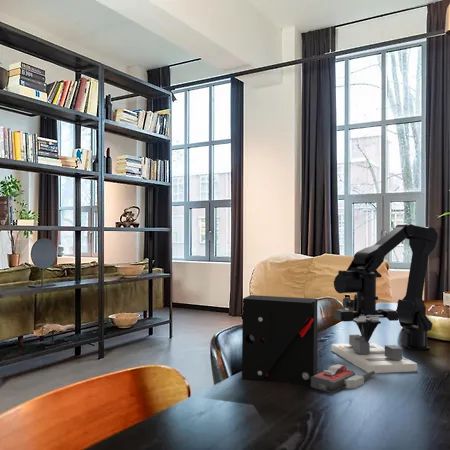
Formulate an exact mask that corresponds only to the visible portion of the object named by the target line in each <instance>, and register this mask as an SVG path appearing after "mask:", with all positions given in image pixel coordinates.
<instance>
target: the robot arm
mask: <svg viewBox="0 0 450 450" xmlns="http://www.w3.org/2000/svg"><path fill="white" fill-rule="evenodd" d="M438 236H439V235H438V232H437V231H436V229H435V228H434V227H432V226H419V225H414V224H411V223H398V224H397V225H396V226H395V227H394V228H393V229H391V230H390V231H389V232H388V233H387V234H386V235H384V236H383V237H382V238H380V239H379V240H378V241H376V243H375V244H373V245H371V246H368V247H365V248H362V249H360V250H359V251H357V252H355V253H354V255H353V259H352V260H351V262H350V264H349V265H348V267H347V269H346V270H338V271H337V272H338V273H337V275H336V276H335V278H334V281H333V288H334V290H335V292H336V293H338V294H353V293H355V294H354V295H353V299H351V297H344V298H343V299H342V306H343V309H336V310H335V311H334V313H333V319H335V320H337V321H340V322H353V323H355V324H356V326H357V328H358V330H359V333H360V336H362V337H364V341H366V342H368V343H370V340H371V337H372V335H373V333H374V332H375V330H376V328H377V327H378V325H380V324H381V323H382V321H381V320H380V318H381V319H384V318H385V319H387V320H388V321H393V322H395V321H398V322H399V326H400V327H401V328H402V327H403V328H404V329H403V330H404V331H403V333H402V343H400V344H401V346H403V347H405V348H407V349H410V350H413V351H415V350H430V349H431V347H430V346H428V332H429V331H432V328H433V322H431V320H430V319H429V318H428V316H427V314H426V311H427V310H426V309H427V307H426V305H425V302H424V299H423V295H424V290H425V289H424V288H425V284H426V283H425V282H426V275H427V270H428V269H427V268H428V262H429V255H431V253H432V252H433V250H434V249H435V248H436V246H437V242H438ZM405 240H408V245H409V248H410V250H411V259H410V261H411V262H410V266H409V273H408V279H407V280H408V281H407V286H406V293H405V296H404V297H403V298H402V299H399V298H398V300H397V305H396V310H393V309H390V308H378V309H377V304H376V303H377V301H379V296H377V278H382V277H383V276H382V275H383V274H381V273H380V272H378V269H379V268H380V266H381V265H382V264H383V263H384V262H385V257H386V256H387V255H388V254H389V253H390V252H392V251H393V250H394V249H395V248H396V247H398V246H399V245H400V244H401V243H403V241H405ZM381 325H382V324H381Z"/></svg>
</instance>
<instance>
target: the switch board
mask: <svg viewBox="0 0 450 450" xmlns="http://www.w3.org/2000/svg"><path fill="white" fill-rule="evenodd" d="M369 343H370V354H359V353H357V352H355V351H354V350H353V346H351V345H349V342H348V343H332V344H331V351H332V352H333V353H335V354H337V355H338V356H340V357H341V358H343V359H345V360H347V361H348V362H350V363H351V364H353V365H354V366H356V367H358V368H360V369H361V370H363V371H364V372H366V374H368V373H370V372H372V371H374V372H375V374H380V373H381V374H384V373H385V374H386V373H403V372H407V373H408V372H417V371H418V363H417V362H414V361H413V360H410V359H408V358H406V357H404V356H402V359H401V360H392V359H390V358H388V357H386V356H385V347H382V346H380V345H379V344H376V343H374V342H369Z"/></svg>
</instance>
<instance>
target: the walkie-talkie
mask: <svg viewBox="0 0 450 450" xmlns="http://www.w3.org/2000/svg"><path fill="white" fill-rule="evenodd" d="M373 375H376V373H375V372H374V371H372V372H370V373H366V374H363V375H358V374H356V372H355V371H354V370H349V369H347V365H343V364H340V363H335V364H333V365H331V366H329V367H328V369H327V370H326V369H324V370H323V371H321V372H319V373H317V374H316V375H314V376H311V385H310V387H311V388H314V389H316V390H321V391H325V392H328V393H336V392H338V391H340V389H341V390H343V389H356V388H359V387H360V386H363V385H364V383H365V380H368V379H370V378H371V377H372V376H373ZM342 388H343V389H342Z"/></svg>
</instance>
